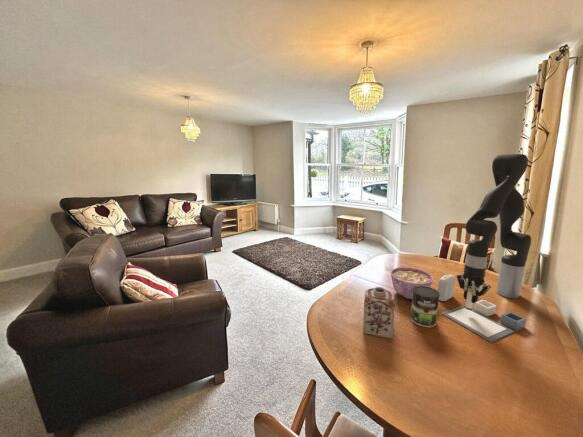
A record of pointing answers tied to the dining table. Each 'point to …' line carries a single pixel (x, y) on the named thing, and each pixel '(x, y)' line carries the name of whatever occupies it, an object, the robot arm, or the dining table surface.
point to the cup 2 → (513, 321)
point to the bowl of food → (409, 280)
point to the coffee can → (424, 306)
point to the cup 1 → (485, 308)
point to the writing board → (478, 323)
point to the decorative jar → (379, 312)
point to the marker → (469, 299)
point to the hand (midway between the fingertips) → (470, 300)
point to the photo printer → (446, 287)
